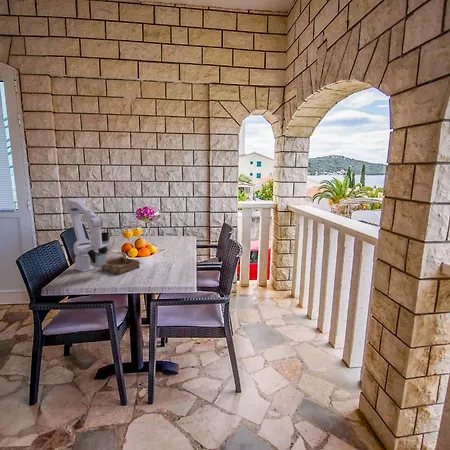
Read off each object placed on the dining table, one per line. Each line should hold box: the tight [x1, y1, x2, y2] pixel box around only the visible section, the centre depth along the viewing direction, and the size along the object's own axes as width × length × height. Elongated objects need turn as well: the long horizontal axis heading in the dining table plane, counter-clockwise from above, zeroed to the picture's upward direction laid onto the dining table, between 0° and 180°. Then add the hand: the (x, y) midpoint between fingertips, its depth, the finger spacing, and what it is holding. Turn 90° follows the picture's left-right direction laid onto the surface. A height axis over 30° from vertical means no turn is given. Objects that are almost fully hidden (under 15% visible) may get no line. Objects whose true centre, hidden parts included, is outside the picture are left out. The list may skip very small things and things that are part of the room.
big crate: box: [101, 256, 140, 275], centre depth 180 cm, size 16×15×4 cm
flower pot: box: [120, 245, 136, 258], centre depth 200 cm, size 9×9×9 cm
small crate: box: [89, 251, 107, 268], centre depth 167 cm, size 8×5×6 cm, turn 59°
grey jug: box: [97, 231, 115, 255], centre depth 213 cm, size 9×14×15 cm, turn 71°
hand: (98, 261), depth 167 cm, fingers closed on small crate, 5 cm apart
